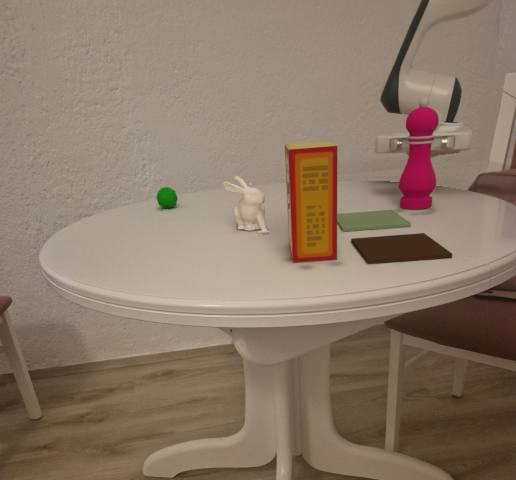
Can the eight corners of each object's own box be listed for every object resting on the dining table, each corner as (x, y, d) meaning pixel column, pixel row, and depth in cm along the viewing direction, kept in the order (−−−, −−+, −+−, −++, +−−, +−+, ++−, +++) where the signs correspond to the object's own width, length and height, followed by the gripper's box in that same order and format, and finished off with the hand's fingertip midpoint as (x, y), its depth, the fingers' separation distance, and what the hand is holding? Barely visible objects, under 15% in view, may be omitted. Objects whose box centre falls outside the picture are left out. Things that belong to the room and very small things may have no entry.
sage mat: (392, 212, 96) (392, 209, 96) (410, 226, 85) (410, 223, 85) (332, 217, 96) (332, 214, 96) (343, 231, 85) (343, 228, 85)
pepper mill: (438, 203, 100) (449, 95, 91) (427, 211, 95) (437, 97, 86) (404, 202, 104) (411, 98, 95) (392, 209, 99) (398, 100, 90)
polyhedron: (171, 210, 114) (167, 189, 111) (154, 210, 116) (150, 189, 114) (182, 206, 118) (180, 185, 115) (166, 205, 120) (163, 185, 117)
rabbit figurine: (270, 234, 87) (267, 178, 83) (228, 237, 87) (223, 182, 83) (263, 220, 98) (260, 170, 94) (226, 223, 98) (222, 173, 93)
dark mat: (423, 236, 79) (424, 232, 79) (452, 257, 68) (452, 253, 68) (351, 242, 79) (351, 238, 79) (367, 264, 68) (368, 260, 68)
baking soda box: (289, 245, 80) (284, 141, 72) (328, 242, 80) (327, 138, 72) (293, 262, 71) (288, 146, 64) (337, 259, 71) (337, 143, 64)
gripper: (377, 127, 114) (371, 131, 103) (470, 121, 108) (475, 125, 96) (376, 155, 117) (370, 163, 105) (467, 151, 111) (471, 159, 99)
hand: (421, 145), depth 101 cm, fingers open, 8 cm apart
